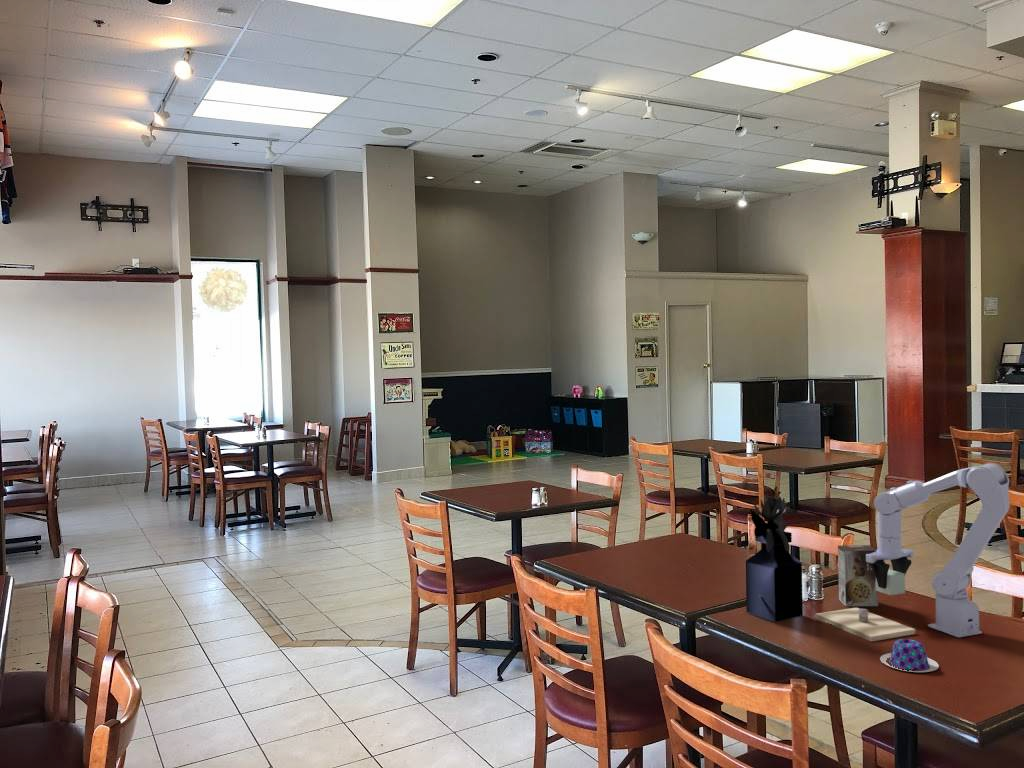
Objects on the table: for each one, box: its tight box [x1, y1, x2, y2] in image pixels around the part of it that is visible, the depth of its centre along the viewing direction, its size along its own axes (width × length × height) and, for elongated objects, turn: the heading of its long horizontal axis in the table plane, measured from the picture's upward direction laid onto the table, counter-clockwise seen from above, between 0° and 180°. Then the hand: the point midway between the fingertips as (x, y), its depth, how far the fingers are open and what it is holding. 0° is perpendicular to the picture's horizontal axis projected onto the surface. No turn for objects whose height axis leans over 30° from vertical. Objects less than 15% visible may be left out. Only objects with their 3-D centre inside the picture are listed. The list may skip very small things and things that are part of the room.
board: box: [814, 607, 916, 642], centre depth 208 cm, size 20×14×4 cm
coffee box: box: [837, 544, 879, 607], centre depth 227 cm, size 9×6×16 cm
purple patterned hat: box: [879, 638, 940, 673], centre depth 181 cm, size 12×12×5 cm
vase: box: [745, 486, 804, 623], centre depth 218 cm, size 14×12×35 cm
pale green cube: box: [876, 569, 906, 596], centre depth 215 cm, size 5×5×5 cm
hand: (890, 586), depth 215 cm, fingers closed on pale green cube, 5 cm apart
